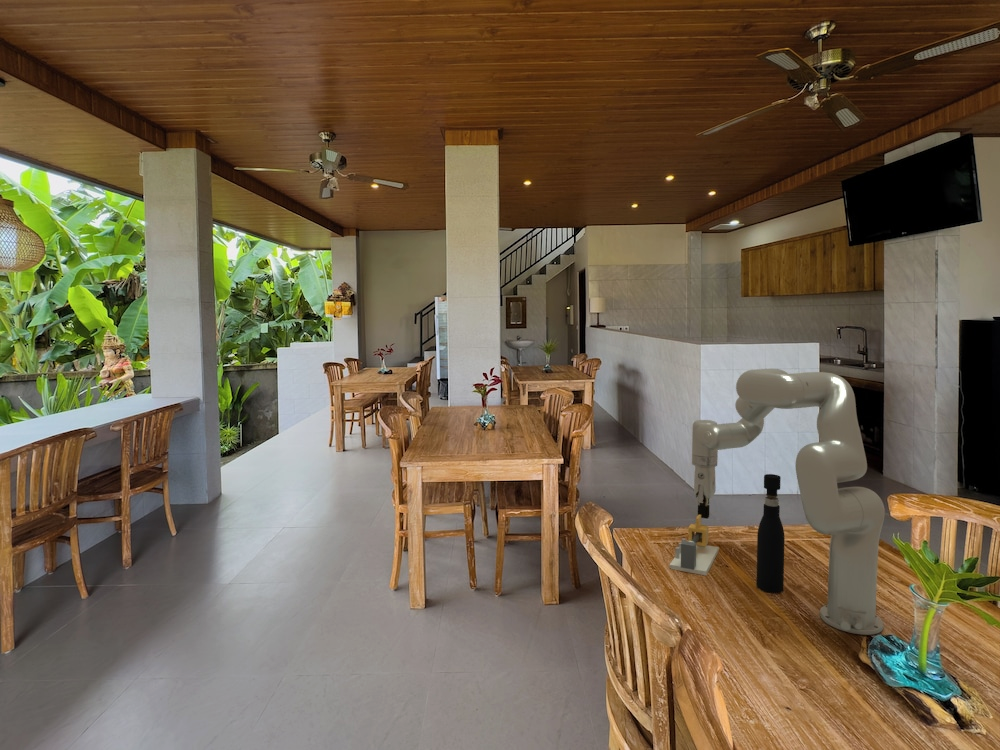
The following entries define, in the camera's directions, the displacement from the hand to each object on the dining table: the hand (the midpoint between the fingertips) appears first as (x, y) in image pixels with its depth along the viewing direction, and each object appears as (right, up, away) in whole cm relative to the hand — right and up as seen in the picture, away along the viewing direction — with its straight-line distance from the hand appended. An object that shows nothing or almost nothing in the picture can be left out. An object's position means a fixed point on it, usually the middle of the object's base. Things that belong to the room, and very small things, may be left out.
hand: (703, 517), depth 182 cm
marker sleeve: (-4, -6, -7) cm, 10 cm away
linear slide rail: (-6, -10, -11) cm, 16 cm away
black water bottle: (+7, -12, -30) cm, 33 cm away
